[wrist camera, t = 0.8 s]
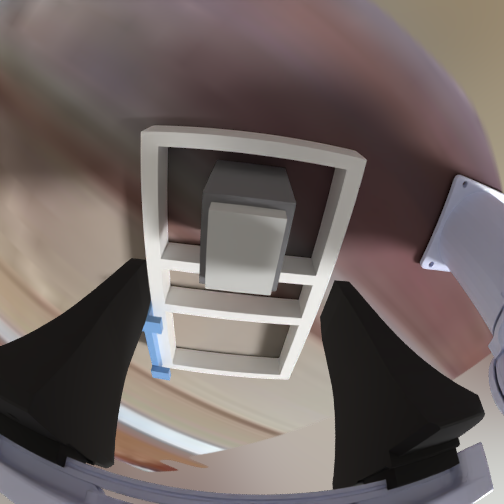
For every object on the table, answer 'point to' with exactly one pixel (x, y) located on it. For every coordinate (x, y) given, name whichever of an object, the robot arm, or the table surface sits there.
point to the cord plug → (245, 227)
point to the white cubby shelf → (188, 256)
